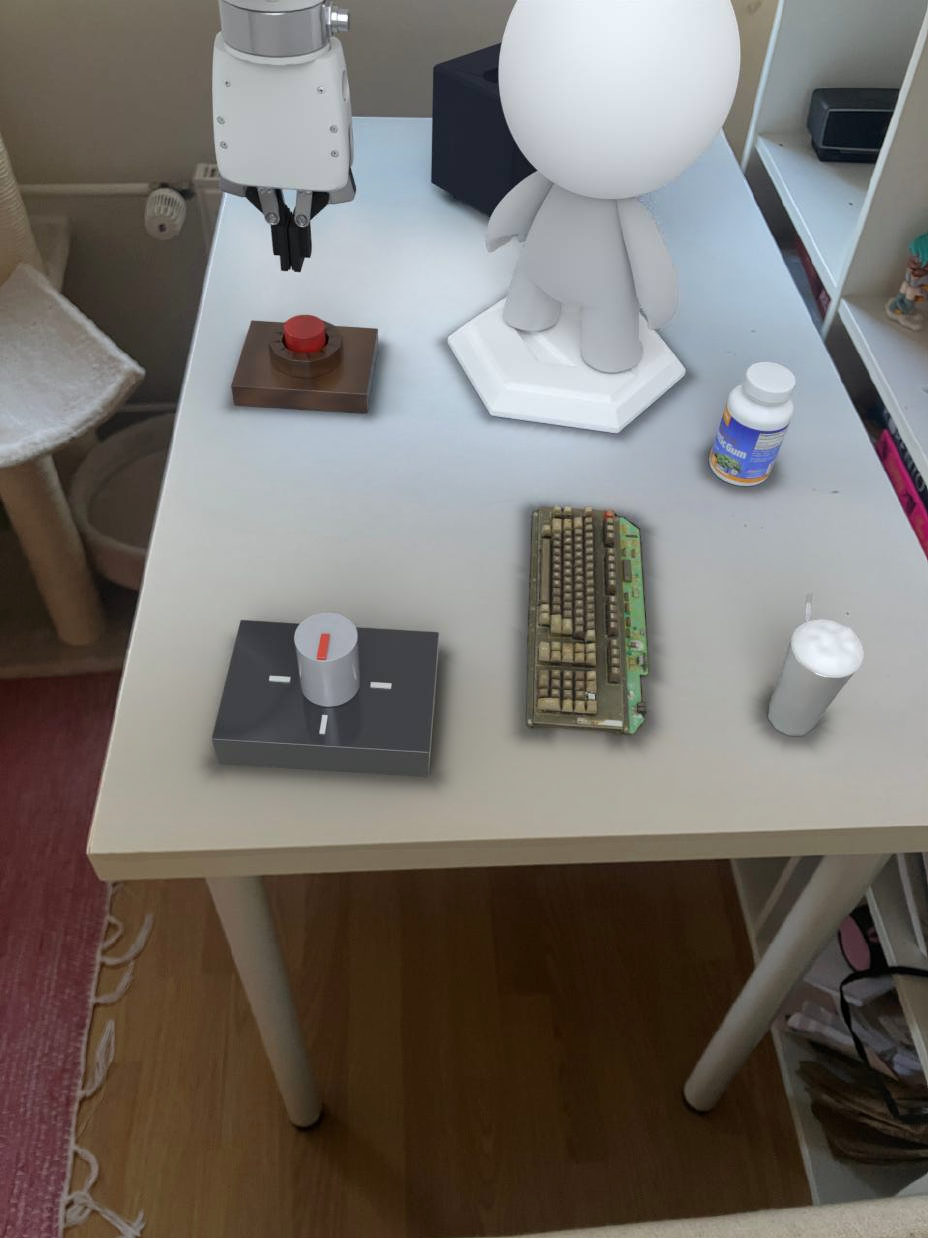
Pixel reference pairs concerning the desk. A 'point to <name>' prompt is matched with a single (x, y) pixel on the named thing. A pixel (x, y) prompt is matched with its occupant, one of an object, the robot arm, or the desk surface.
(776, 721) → the milkshake
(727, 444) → the pill bottle
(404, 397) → the desk surface
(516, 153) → the speaker
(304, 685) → the hob knob
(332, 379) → the switch block
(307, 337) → the button
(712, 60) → the white cartoon figure
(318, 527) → the desk surface
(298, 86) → the robot arm
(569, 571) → the keyboard
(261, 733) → the panel
